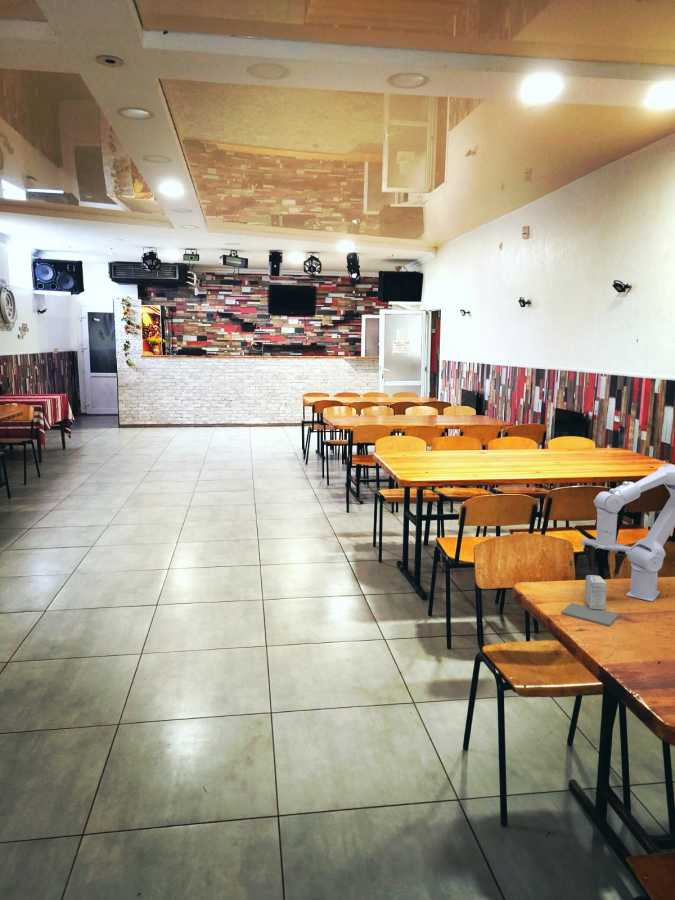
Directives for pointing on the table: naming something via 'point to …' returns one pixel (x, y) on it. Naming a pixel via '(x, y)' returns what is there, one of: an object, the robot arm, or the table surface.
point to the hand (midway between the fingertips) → (604, 571)
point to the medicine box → (595, 592)
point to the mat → (590, 614)
